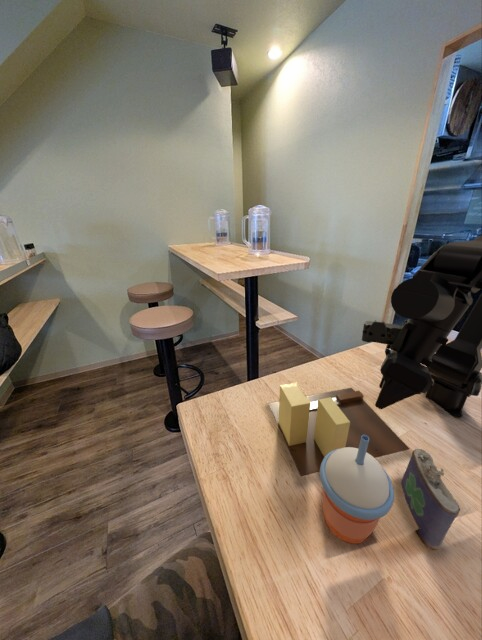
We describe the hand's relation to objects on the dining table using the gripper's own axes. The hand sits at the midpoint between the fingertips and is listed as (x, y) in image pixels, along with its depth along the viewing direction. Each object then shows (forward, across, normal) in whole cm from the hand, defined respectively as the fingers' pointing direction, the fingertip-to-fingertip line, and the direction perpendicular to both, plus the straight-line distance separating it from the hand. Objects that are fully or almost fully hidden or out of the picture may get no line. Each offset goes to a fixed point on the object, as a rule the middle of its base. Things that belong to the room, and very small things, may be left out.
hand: (379, 397), depth 46 cm
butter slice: (+13, +5, -3) cm, 14 cm away
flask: (+11, +7, +12) cm, 18 cm away
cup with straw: (+15, +14, +4) cm, 21 cm away
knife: (+10, -7, -6) cm, 14 cm away
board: (+13, -2, -4) cm, 13 cm away
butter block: (+15, +5, -10) cm, 18 cm away
